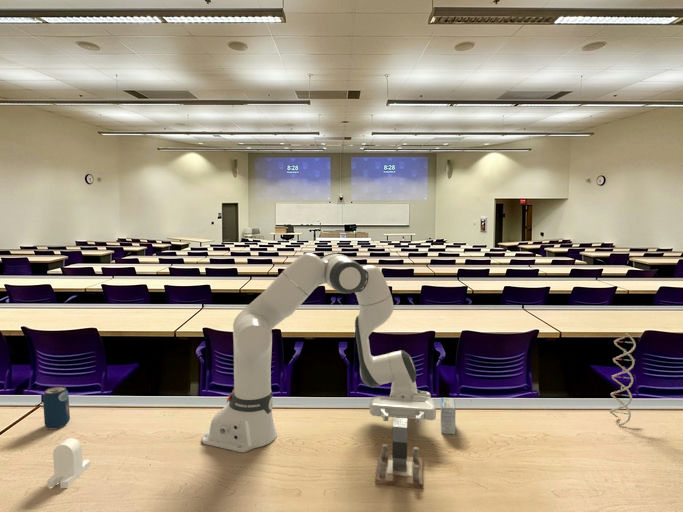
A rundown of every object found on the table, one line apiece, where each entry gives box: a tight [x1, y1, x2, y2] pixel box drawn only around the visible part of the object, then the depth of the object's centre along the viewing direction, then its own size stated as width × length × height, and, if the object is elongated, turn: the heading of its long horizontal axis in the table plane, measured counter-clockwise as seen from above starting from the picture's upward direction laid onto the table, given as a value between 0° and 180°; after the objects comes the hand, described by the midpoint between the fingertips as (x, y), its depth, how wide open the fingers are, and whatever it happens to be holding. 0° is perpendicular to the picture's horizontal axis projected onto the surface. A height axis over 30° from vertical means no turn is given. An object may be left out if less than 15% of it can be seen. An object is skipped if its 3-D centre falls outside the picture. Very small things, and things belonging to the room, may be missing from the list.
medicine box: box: [440, 397, 457, 435], centre depth 139 cm, size 8×4×9 cm, turn 168°
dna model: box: [609, 332, 637, 426], centre depth 142 cm, size 7×6×30 cm
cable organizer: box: [46, 437, 91, 489], centre depth 113 cm, size 5×10×10 cm, turn 178°
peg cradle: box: [374, 443, 424, 489], centre depth 115 cm, size 12×12×5 cm
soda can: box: [42, 385, 71, 429], centre depth 140 cm, size 7×7×12 cm
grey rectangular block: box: [391, 417, 408, 472], centre depth 115 cm, size 4×5×13 cm
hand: (401, 420), depth 126 cm, fingers open, 8 cm apart
